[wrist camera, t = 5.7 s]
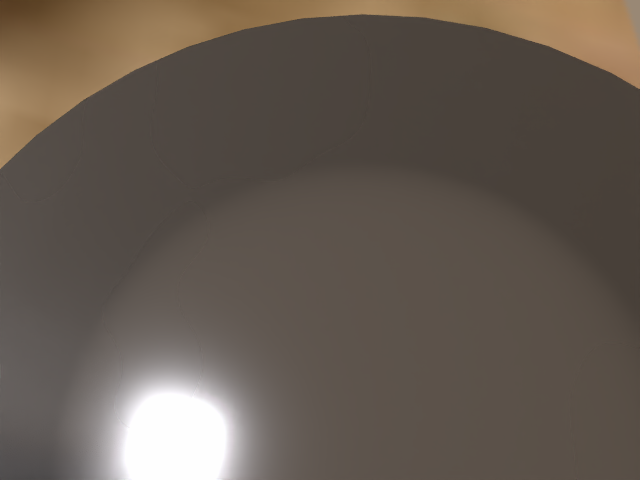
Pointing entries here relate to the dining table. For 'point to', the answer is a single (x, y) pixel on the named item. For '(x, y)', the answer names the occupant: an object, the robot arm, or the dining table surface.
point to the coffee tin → (328, 264)
